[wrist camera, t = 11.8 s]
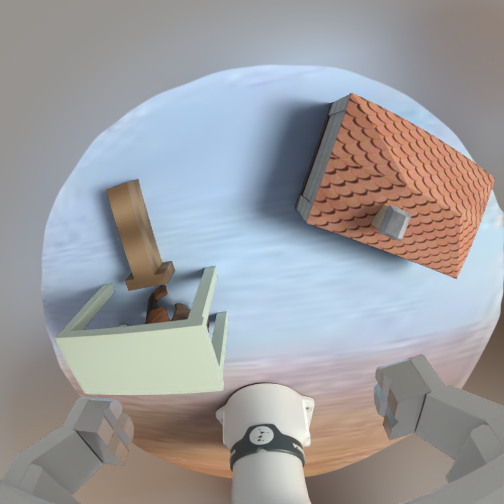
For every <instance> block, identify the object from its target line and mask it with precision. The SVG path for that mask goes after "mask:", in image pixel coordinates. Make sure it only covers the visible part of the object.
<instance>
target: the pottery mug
mask: <svg viewBox="0 0 504 504" xmlns="http://www.w3.org/2000/svg"><path fill="white" fill-rule="evenodd" d="M167 294H168V292H167V290H166V286H165V285H164V286H161V287H159V288H158V289H156V290H155V291H154V292H153V293H152V294H151V296H150V297H149V300H148V309H147V316H146V323H145V324H152V323H161V322H170V321H178V320H186V319H188V316H189V313H190V310H189V309H187V308H186V307H185V306H184V305H183V304H175V308H176V311H175V313H174V316H173V318H172V320H170V319H169V317H168V315H167V311H166V309H165V308H164V307H162V306H161V307H158V305H157V300H159V299H160V298H161V297H163V296H165V295H167ZM206 326H207V329H208V328H209V322H208V320H207V324H206ZM208 332H209V330H208Z"/></svg>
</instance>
